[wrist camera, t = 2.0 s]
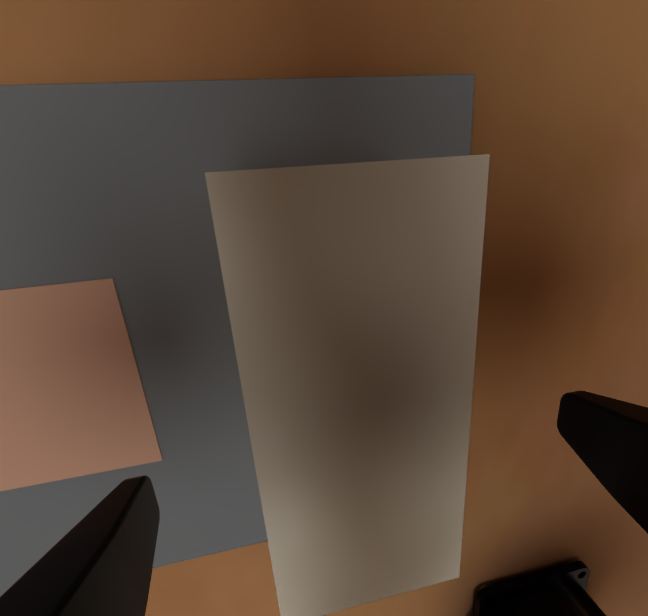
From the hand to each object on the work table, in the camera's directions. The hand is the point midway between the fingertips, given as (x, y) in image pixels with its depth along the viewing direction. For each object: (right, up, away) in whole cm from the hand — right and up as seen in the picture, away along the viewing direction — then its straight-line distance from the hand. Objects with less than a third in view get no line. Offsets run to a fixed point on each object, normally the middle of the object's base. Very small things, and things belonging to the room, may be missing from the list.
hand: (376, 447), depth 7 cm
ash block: (-1, +2, +5) cm, 5 cm away
